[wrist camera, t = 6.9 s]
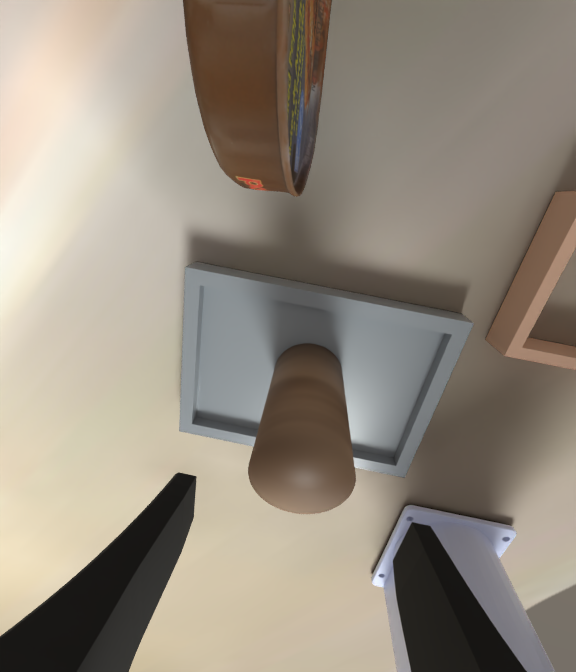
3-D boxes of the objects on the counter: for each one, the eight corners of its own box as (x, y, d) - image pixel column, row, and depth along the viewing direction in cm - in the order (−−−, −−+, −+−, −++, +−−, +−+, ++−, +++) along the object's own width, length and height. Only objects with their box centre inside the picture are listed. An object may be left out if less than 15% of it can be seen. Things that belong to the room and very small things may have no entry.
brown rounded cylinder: (329, 409, 19) (334, 524, 13) (267, 391, 19) (238, 497, 12) (352, 354, 18) (372, 452, 11) (284, 334, 18) (262, 421, 11)
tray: (399, 459, 21) (404, 477, 20) (188, 416, 22) (179, 431, 20) (461, 313, 17) (473, 323, 16) (196, 261, 17) (185, 267, 16)
